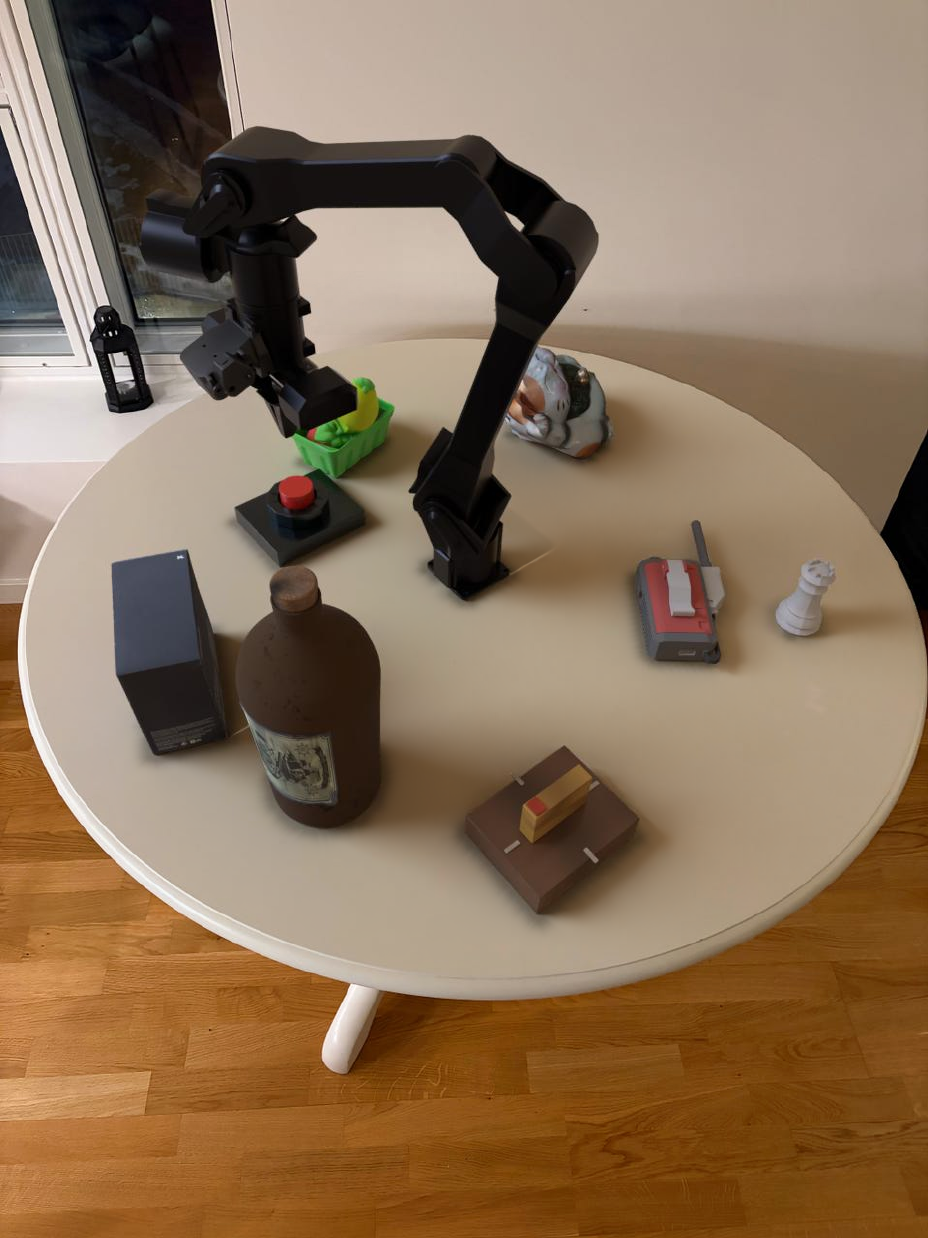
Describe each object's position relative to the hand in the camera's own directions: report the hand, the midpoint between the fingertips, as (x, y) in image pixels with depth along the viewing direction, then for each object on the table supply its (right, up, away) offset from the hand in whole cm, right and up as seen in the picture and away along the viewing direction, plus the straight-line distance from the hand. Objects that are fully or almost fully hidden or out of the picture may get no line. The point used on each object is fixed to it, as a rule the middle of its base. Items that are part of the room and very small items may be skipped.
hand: (288, 435), depth 91 cm
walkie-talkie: (+40, -16, +3) cm, 43 cm away
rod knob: (+25, -34, -18) cm, 46 cm away
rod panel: (+25, -36, -15) cm, 47 cm away
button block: (0, -8, +9) cm, 12 cm away
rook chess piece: (+52, -19, +1) cm, 55 cm away
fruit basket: (+4, +1, +17) cm, 18 cm away
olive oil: (+6, -33, -12) cm, 35 cm away
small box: (-8, -25, -6) cm, 28 cm away
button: (0, -5, +6) cm, 8 cm away
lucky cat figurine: (+29, +4, +21) cm, 36 cm away
